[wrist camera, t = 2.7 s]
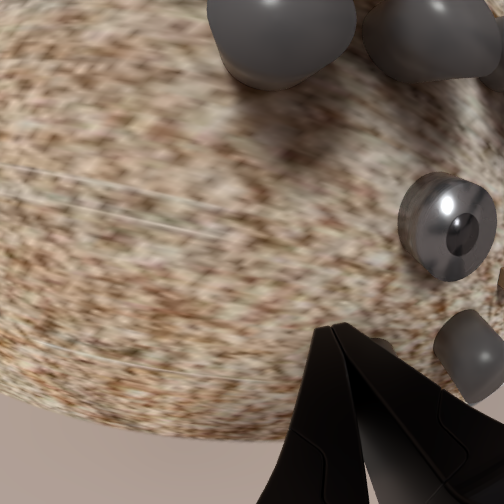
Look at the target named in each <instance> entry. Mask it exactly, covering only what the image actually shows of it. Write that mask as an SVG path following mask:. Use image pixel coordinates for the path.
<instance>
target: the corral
mask: <svg viewBox="0 0 504 504" xmlns="http://www.w3.org/2000/svg"><path fill="white" fill-rule="evenodd" d="M498 285H499V286H500V287H502V288H503V289H504V267H502V268H501V271H500V276H499V281H498Z"/></svg>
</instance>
